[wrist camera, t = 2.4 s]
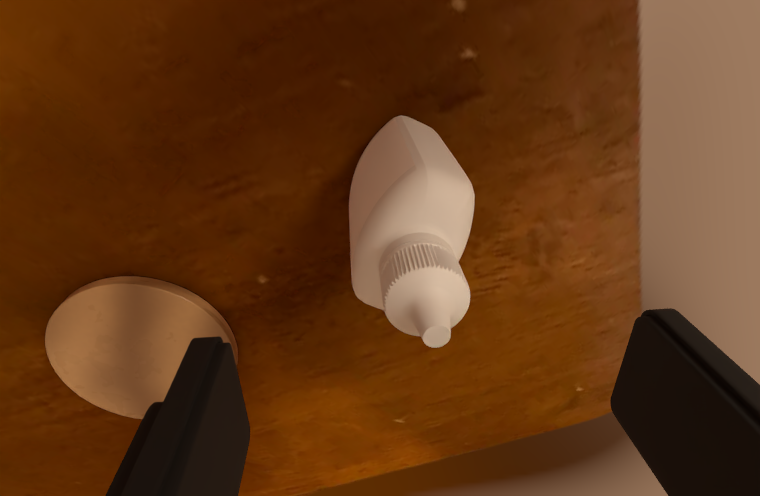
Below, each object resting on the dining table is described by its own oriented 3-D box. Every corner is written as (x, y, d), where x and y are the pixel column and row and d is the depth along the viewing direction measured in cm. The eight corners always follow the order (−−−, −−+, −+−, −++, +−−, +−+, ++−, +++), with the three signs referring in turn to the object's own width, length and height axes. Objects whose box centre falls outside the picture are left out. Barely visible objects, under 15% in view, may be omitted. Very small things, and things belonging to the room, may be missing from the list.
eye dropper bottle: (316, 171, 21) (290, 338, 11) (414, 99, 20) (494, 208, 9) (370, 236, 23) (393, 432, 13) (463, 173, 22) (575, 334, 11)
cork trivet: (220, 270, 23) (217, 278, 23) (250, 404, 28) (248, 414, 28) (22, 280, 23) (12, 289, 22) (87, 415, 28) (81, 426, 27)
